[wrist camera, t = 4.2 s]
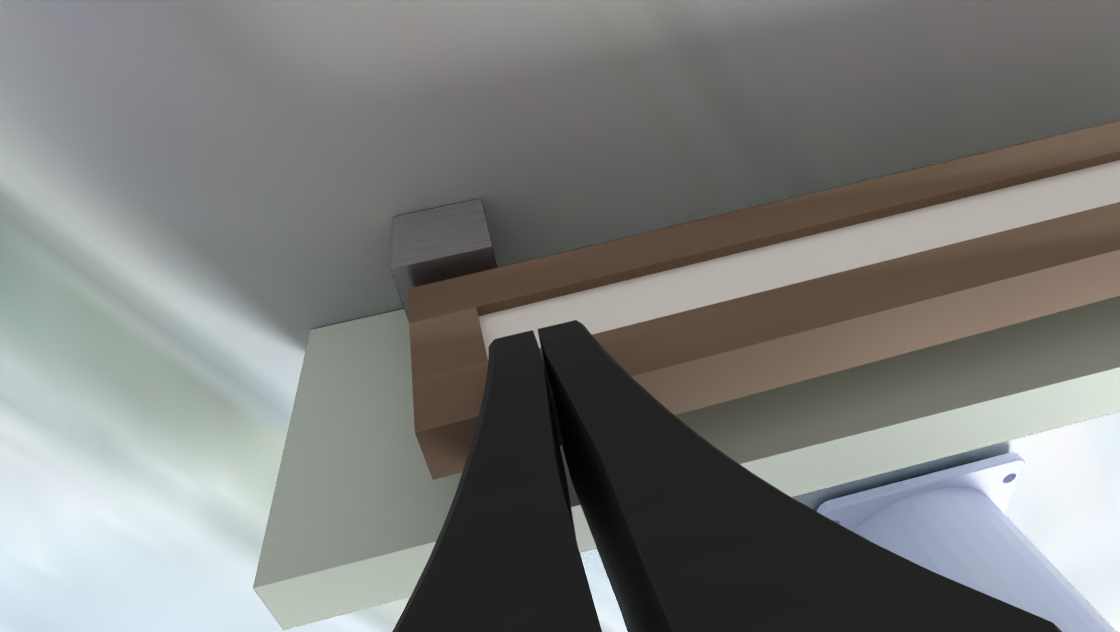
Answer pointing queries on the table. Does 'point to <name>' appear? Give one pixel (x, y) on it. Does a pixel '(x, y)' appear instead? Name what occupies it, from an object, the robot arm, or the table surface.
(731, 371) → the grooved wooden rail
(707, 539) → the robot arm
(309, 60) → the table surface
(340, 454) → the wall panel
